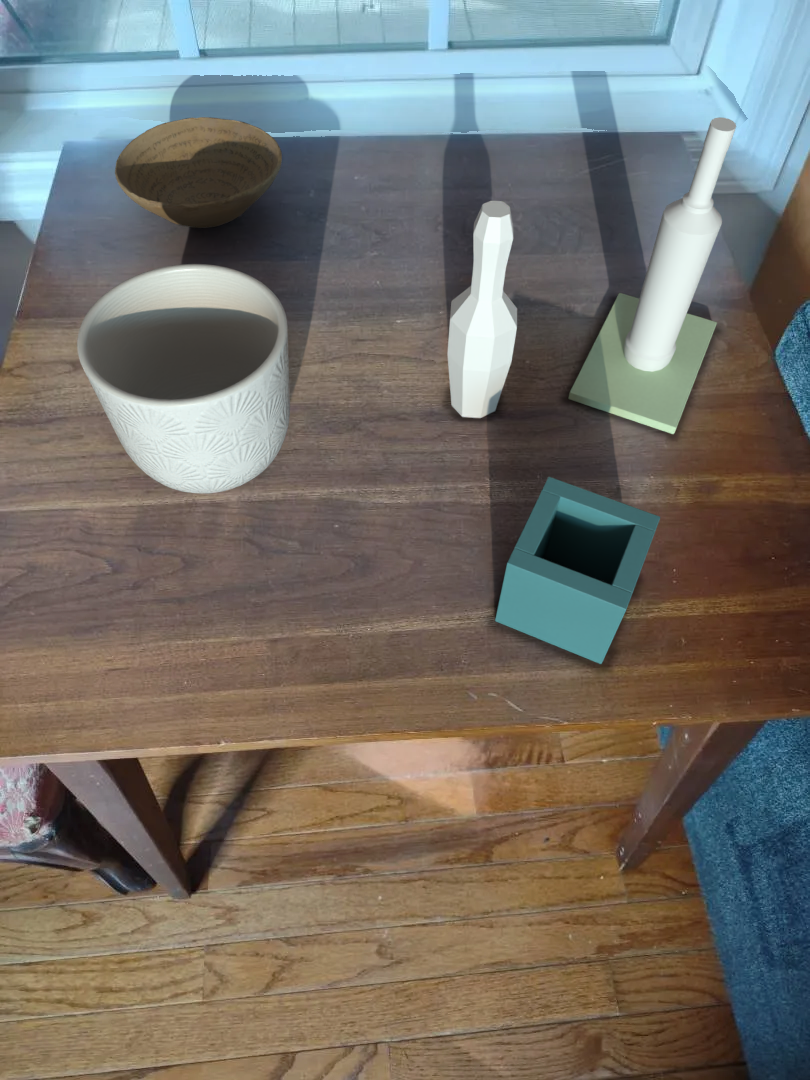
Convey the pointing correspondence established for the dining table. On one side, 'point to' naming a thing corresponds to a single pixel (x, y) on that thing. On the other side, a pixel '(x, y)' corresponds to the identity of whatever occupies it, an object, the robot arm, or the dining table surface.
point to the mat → (641, 371)
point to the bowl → (199, 169)
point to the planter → (191, 373)
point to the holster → (585, 546)
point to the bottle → (678, 258)
